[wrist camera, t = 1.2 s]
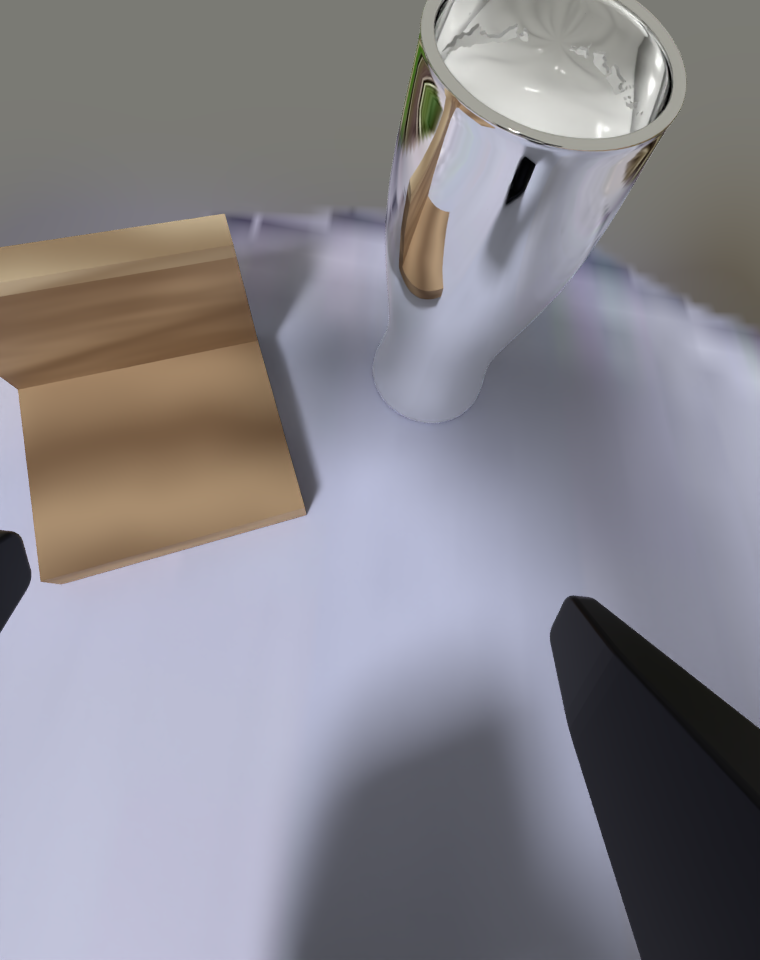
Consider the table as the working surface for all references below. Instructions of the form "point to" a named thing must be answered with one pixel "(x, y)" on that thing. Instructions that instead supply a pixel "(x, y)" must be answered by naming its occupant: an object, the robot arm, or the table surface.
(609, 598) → the table surface
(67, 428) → the cleat board
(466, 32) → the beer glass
